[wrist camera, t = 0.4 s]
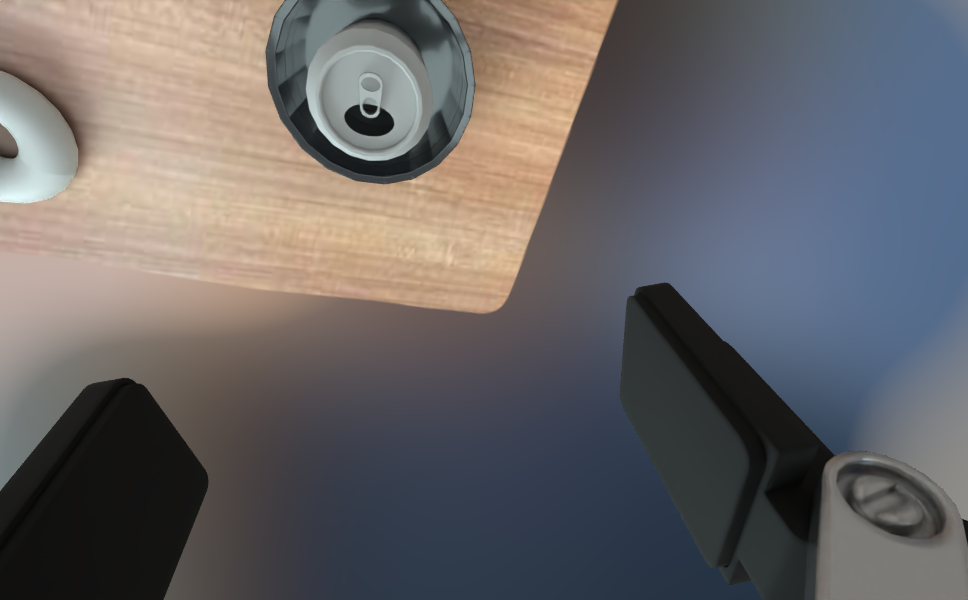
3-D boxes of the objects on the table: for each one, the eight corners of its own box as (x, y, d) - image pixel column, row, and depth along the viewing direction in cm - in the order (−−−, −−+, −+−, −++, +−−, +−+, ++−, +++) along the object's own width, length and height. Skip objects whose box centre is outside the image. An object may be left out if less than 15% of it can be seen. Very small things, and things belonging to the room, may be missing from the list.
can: (328, 115, 38) (302, 161, 28) (328, 8, 34) (298, 17, 24) (420, 129, 39) (427, 176, 29) (431, 28, 35) (442, 44, 25)
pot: (248, 73, 35) (223, 87, 30) (362, -87, 31) (354, -101, 26) (390, 191, 42) (388, 218, 37) (499, 72, 38) (514, 84, 33)
